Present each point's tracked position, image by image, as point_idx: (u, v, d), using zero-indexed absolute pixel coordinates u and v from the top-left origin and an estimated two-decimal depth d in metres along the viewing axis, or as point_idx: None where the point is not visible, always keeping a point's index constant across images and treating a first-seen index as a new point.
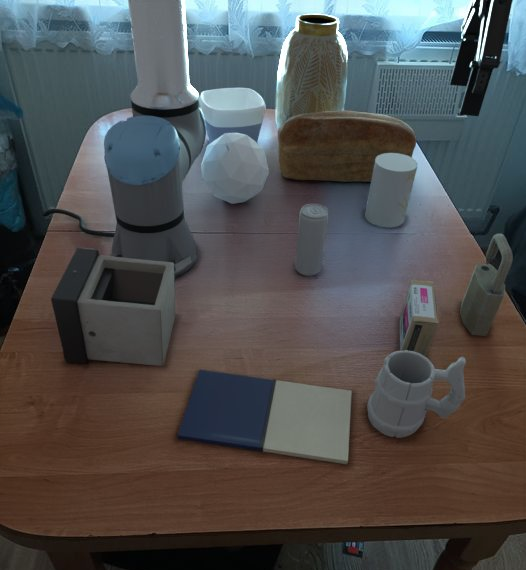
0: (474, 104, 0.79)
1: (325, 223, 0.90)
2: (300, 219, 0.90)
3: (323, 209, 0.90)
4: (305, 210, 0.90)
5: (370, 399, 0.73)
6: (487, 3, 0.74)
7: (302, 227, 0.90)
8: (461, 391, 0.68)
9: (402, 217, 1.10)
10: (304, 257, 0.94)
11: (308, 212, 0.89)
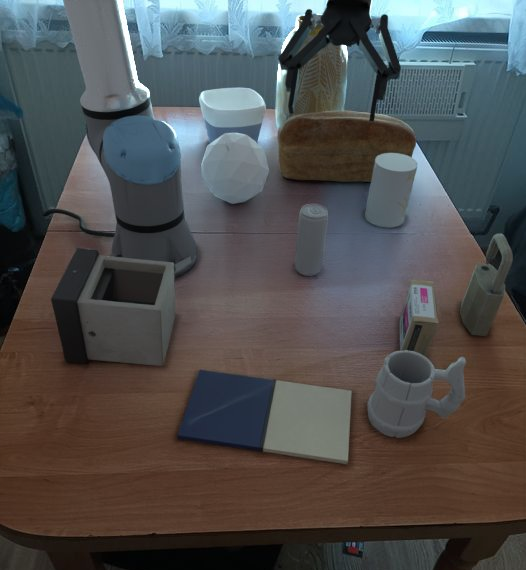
0: (375, 109, 0.89)
1: (325, 223, 0.90)
2: (300, 219, 0.90)
3: (323, 209, 0.90)
4: (305, 210, 0.90)
5: (370, 399, 0.73)
6: None
7: (302, 227, 0.90)
8: (461, 391, 0.68)
9: (402, 217, 1.10)
10: (304, 257, 0.94)
11: (308, 212, 0.89)
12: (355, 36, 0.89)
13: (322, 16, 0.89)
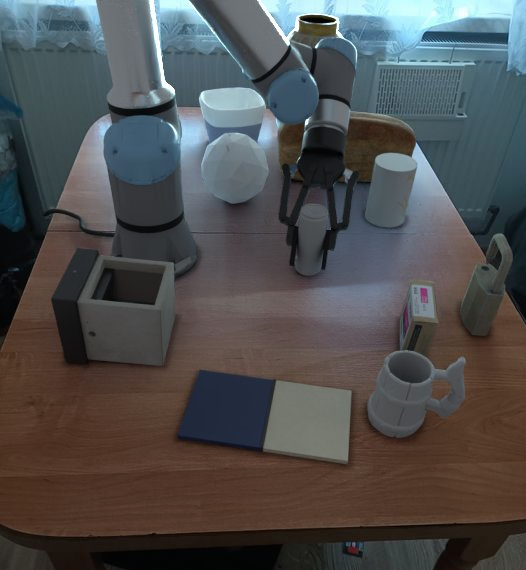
0: None
1: (325, 223, 0.90)
2: (300, 219, 0.90)
3: (323, 209, 0.90)
4: (305, 210, 0.90)
5: (370, 399, 0.73)
6: None
7: (302, 227, 0.90)
8: (461, 391, 0.68)
9: (402, 217, 1.10)
10: (304, 257, 0.94)
11: (308, 212, 0.89)
12: None
13: (298, 162, 0.93)
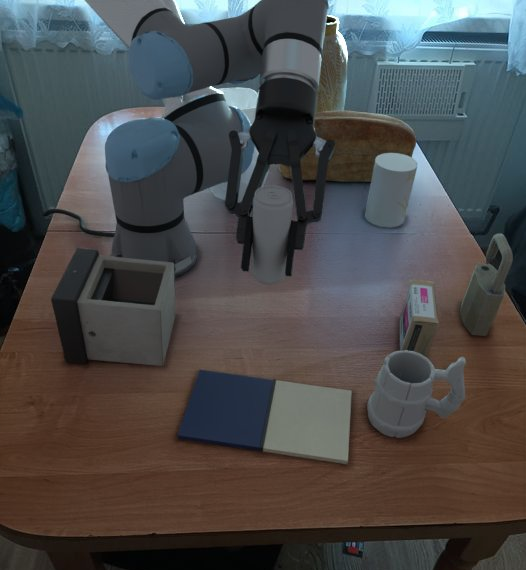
0: None
1: (289, 212, 0.65)
2: (254, 207, 0.65)
3: (286, 193, 0.65)
4: (261, 194, 0.65)
5: (370, 399, 0.73)
6: None
7: (257, 218, 0.65)
8: (461, 391, 0.68)
9: (402, 217, 1.10)
10: (262, 260, 0.69)
11: (264, 197, 0.64)
12: None
13: (251, 128, 0.68)
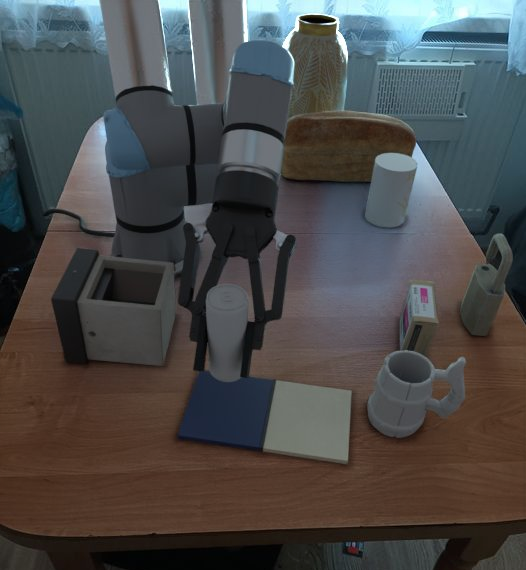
0: (249, 364, 0.63)
1: (244, 315, 0.60)
2: (206, 308, 0.60)
3: (241, 293, 0.61)
4: (213, 295, 0.60)
5: (370, 399, 0.73)
6: None
7: (210, 320, 0.61)
8: (461, 391, 0.68)
9: (402, 217, 1.10)
10: (218, 360, 0.64)
11: (217, 300, 0.60)
12: None
13: (207, 221, 0.63)
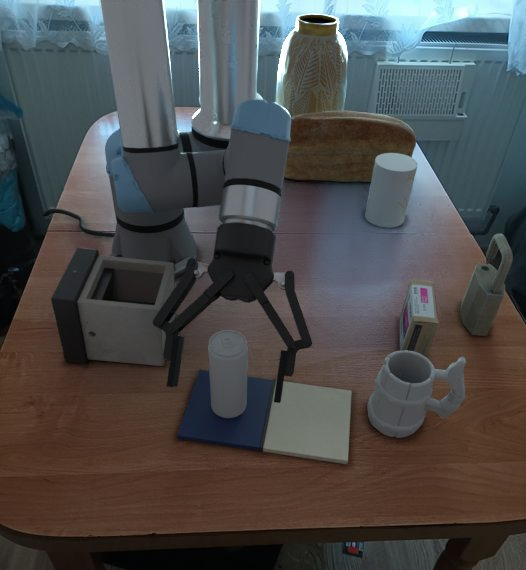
0: (282, 389, 0.68)
1: (243, 360, 0.65)
2: (209, 354, 0.65)
3: (241, 339, 0.65)
4: (215, 342, 0.65)
5: (370, 399, 0.73)
6: None
7: (212, 364, 0.65)
8: (461, 391, 0.68)
9: (402, 217, 1.10)
10: (219, 399, 0.69)
11: (218, 346, 0.64)
12: (253, 297, 0.67)
13: (209, 268, 0.68)
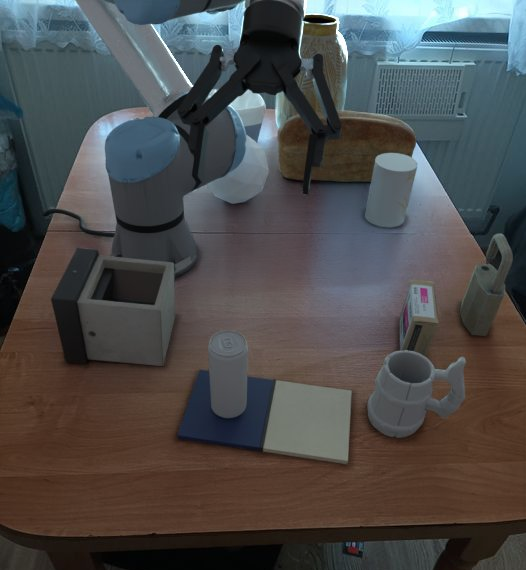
0: (310, 179, 0.66)
1: (243, 360, 0.65)
2: (209, 354, 0.65)
3: (241, 339, 0.65)
4: (215, 342, 0.65)
5: (370, 399, 0.73)
6: None
7: (212, 364, 0.65)
8: (461, 391, 0.68)
9: (402, 217, 1.10)
10: (219, 399, 0.69)
11: (218, 346, 0.64)
12: (280, 82, 0.66)
13: (235, 55, 0.66)
